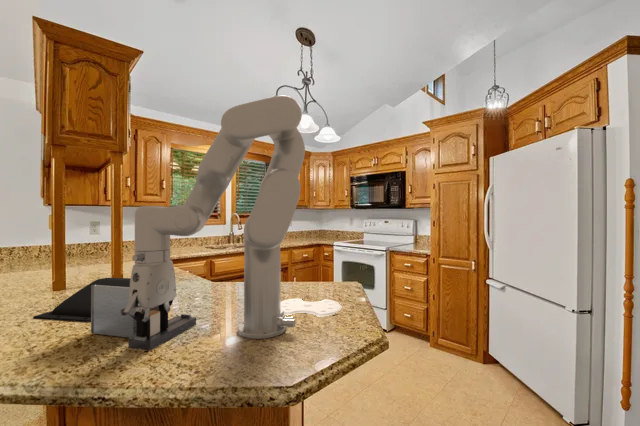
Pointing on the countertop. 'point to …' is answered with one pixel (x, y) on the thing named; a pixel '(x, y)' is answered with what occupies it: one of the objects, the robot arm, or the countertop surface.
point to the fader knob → (154, 322)
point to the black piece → (80, 302)
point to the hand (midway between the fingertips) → (153, 331)
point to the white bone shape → (310, 307)
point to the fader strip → (163, 333)
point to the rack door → (111, 311)
